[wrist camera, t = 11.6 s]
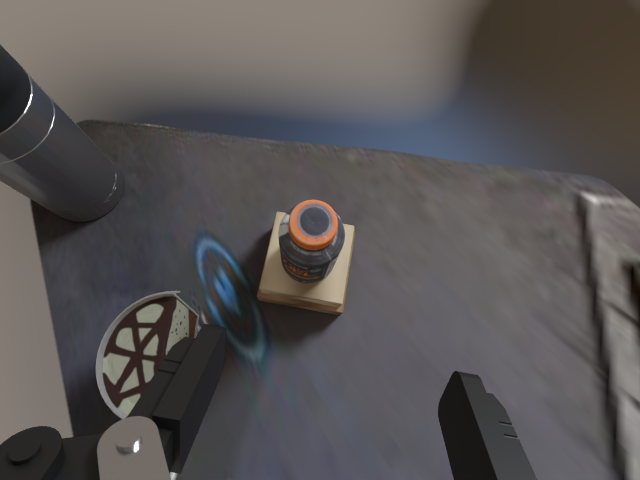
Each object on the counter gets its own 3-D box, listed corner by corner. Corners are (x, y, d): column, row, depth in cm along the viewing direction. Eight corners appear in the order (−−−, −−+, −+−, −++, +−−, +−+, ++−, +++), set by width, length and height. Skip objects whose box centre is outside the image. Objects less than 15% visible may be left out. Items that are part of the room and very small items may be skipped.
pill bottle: (270, 266, 38) (261, 232, 28) (298, 223, 40) (300, 174, 30) (318, 294, 38) (327, 270, 27) (344, 249, 40) (363, 209, 29)
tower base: (259, 300, 43) (253, 292, 38) (276, 225, 46) (273, 206, 41) (339, 315, 43) (346, 309, 38) (351, 239, 46) (359, 222, 41)
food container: (148, 299, 42) (106, 283, 33) (200, 302, 43) (173, 286, 33) (127, 413, 39) (72, 432, 29) (184, 415, 39) (149, 434, 29)
